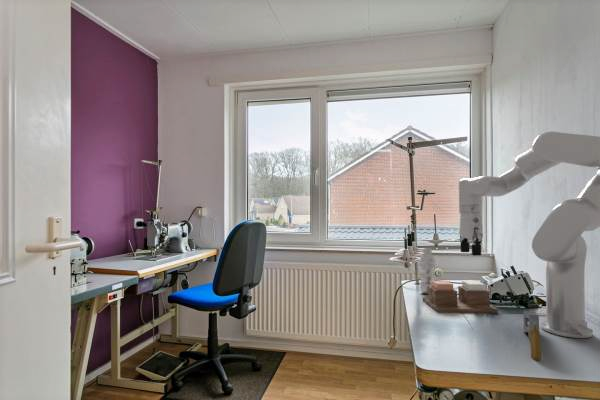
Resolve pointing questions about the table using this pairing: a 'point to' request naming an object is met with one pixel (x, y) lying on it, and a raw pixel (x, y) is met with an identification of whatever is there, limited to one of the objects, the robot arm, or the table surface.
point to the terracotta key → (442, 285)
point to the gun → (533, 333)
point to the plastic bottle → (426, 270)
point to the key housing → (459, 301)
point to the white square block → (473, 285)
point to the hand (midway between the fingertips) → (470, 253)
